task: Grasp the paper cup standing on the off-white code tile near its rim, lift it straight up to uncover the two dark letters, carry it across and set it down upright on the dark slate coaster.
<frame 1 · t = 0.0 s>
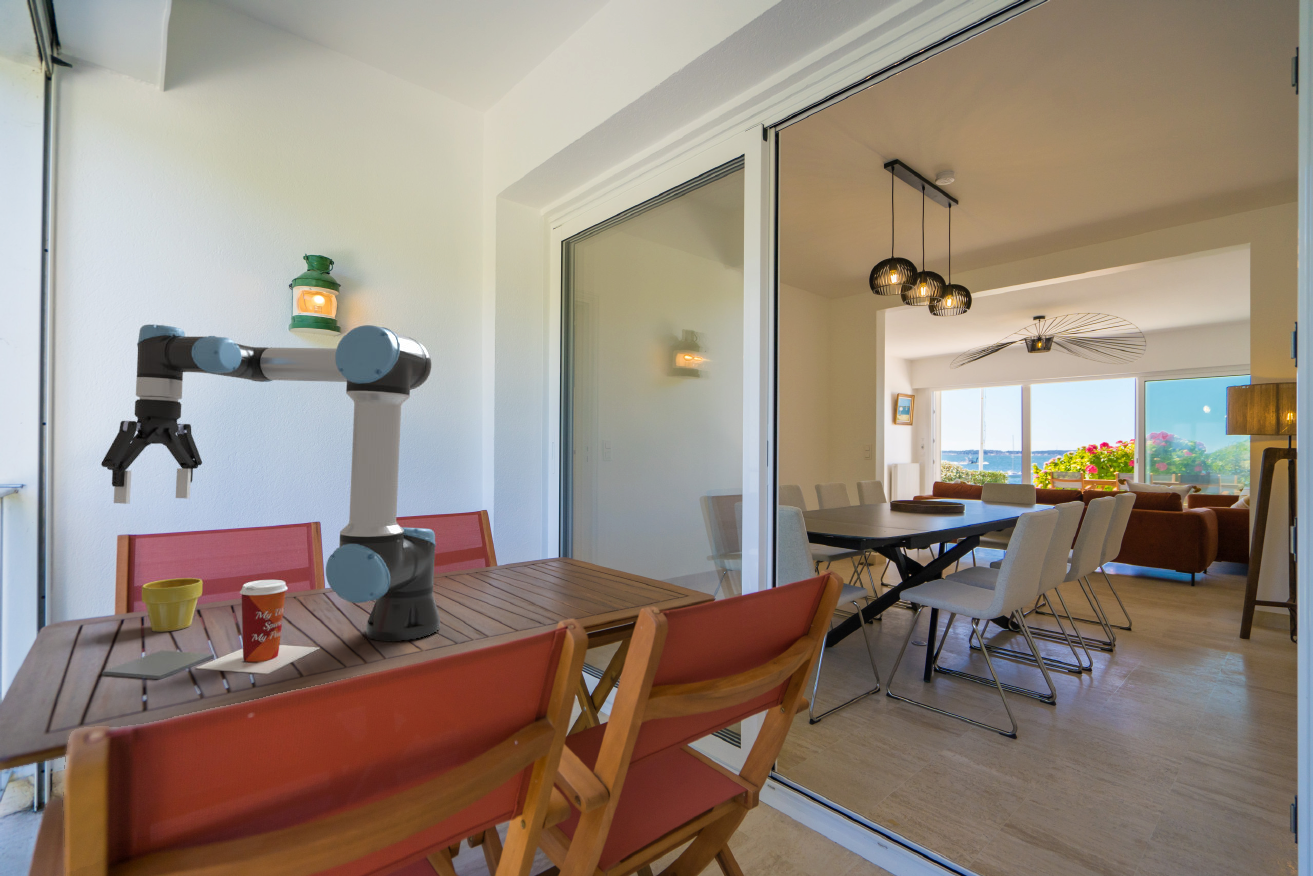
hand: (153, 500, 126), 28 cm above the table, fingers open, 13 cm apart
paper cup: (261, 658, 114), resting on code tile
code tile: (261, 658, 114), on the table
plant pot: (170, 628, 131), on the table
slate coaster: (160, 665, 109), on the table
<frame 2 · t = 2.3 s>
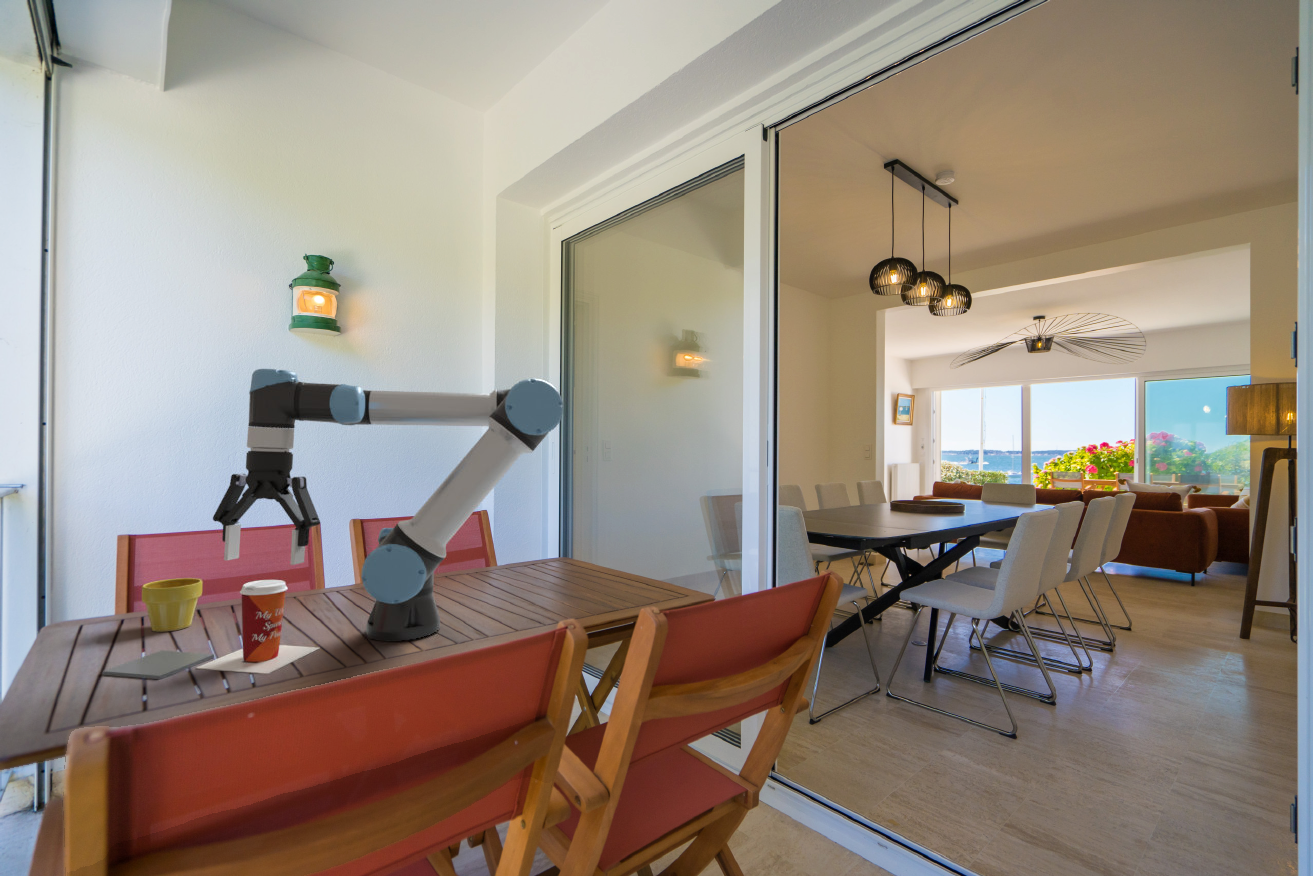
hand: (264, 561, 115), 18 cm above the table, fingers open, 13 cm apart
nothing on the table moved.
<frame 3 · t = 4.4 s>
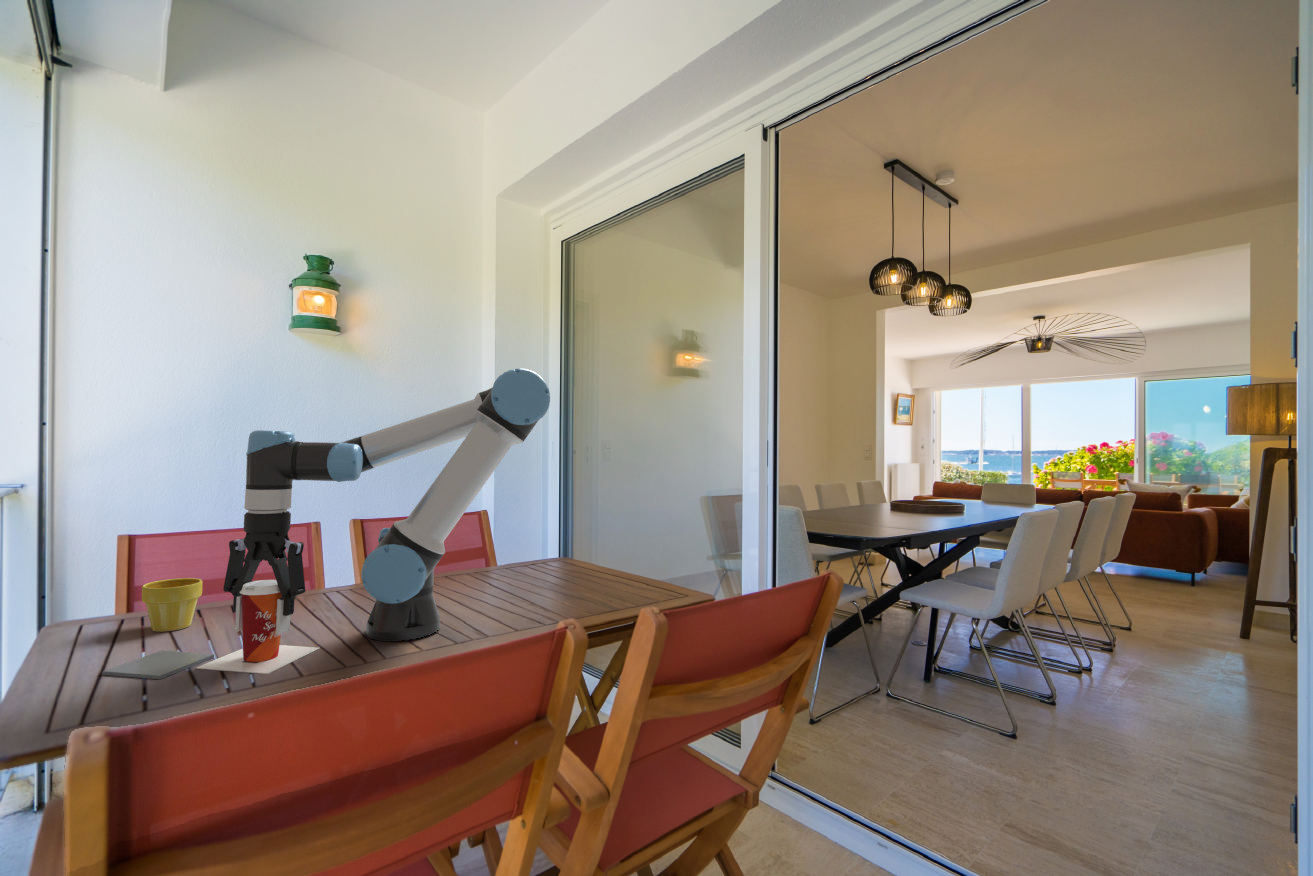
hand: (262, 630, 115), 5 cm above the table, fingers closed on paper cup, 8 cm apart
paper cup: (261, 658, 114), resting on code tile, touching gripper
everything else where it was.
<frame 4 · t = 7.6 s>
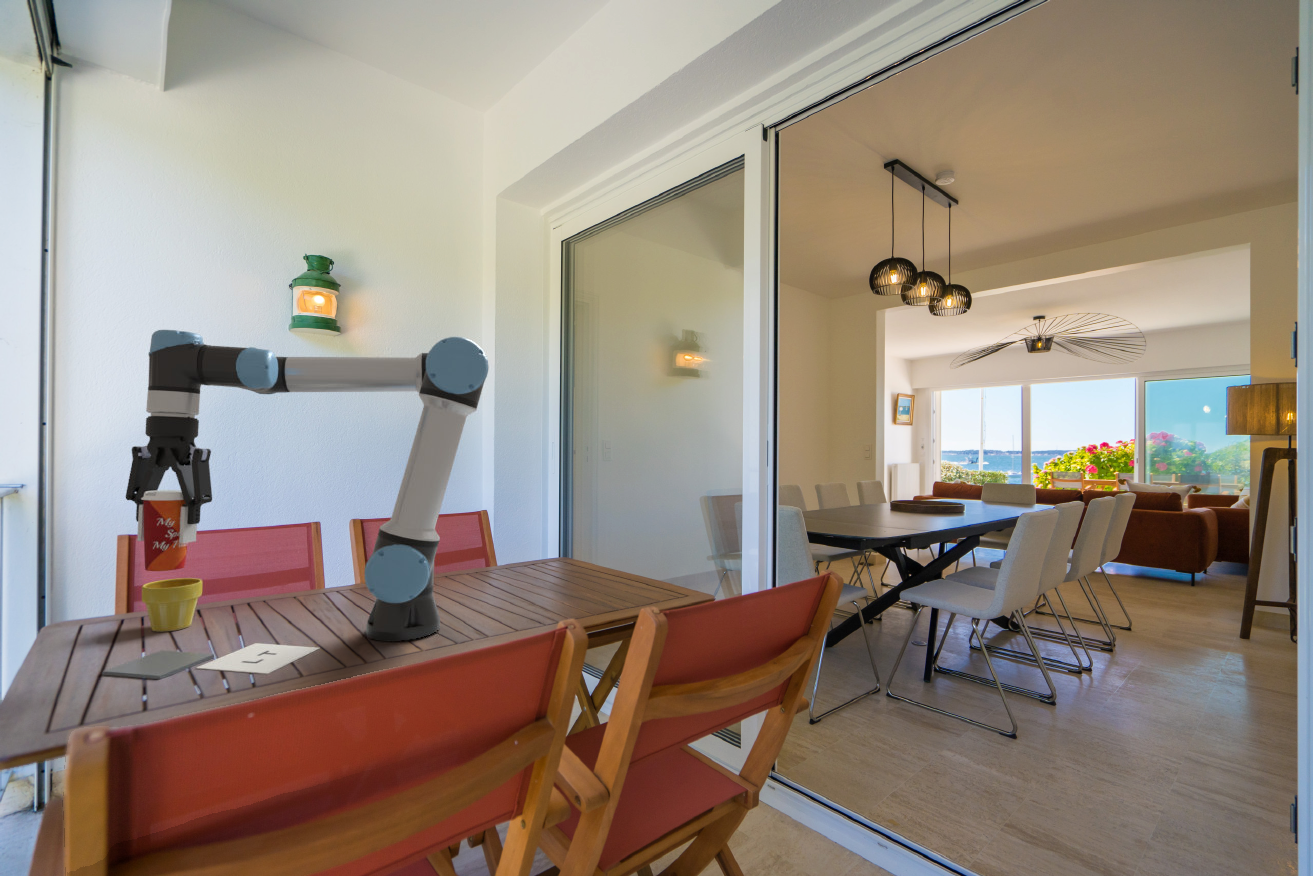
hand: (166, 540, 109), 23 cm above the table, fingers closed on paper cup, 8 cm apart
paper cup: (165, 569, 109), point 17 cm above the table, touching gripper
everything else where it was.
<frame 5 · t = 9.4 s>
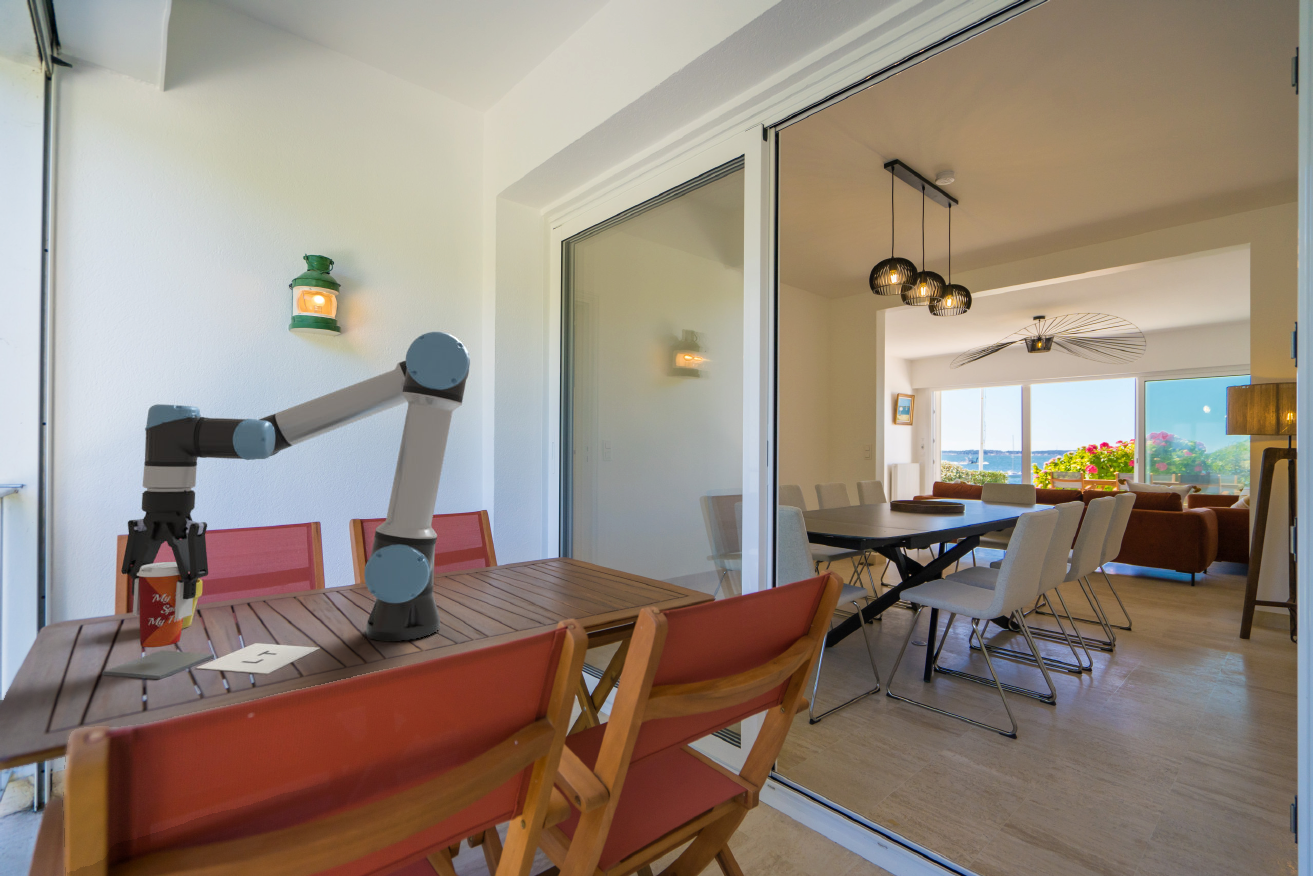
hand: (162, 615, 109), 9 cm above the table, fingers closed on paper cup, 8 cm apart
paper cup: (160, 643, 109), point 4 cm above the table, touching gripper
everything else where it was.
when the fingers open (7 cm above the table, at t = 10.7 s): paper cup drops 1 cm, resting on slate coaster.
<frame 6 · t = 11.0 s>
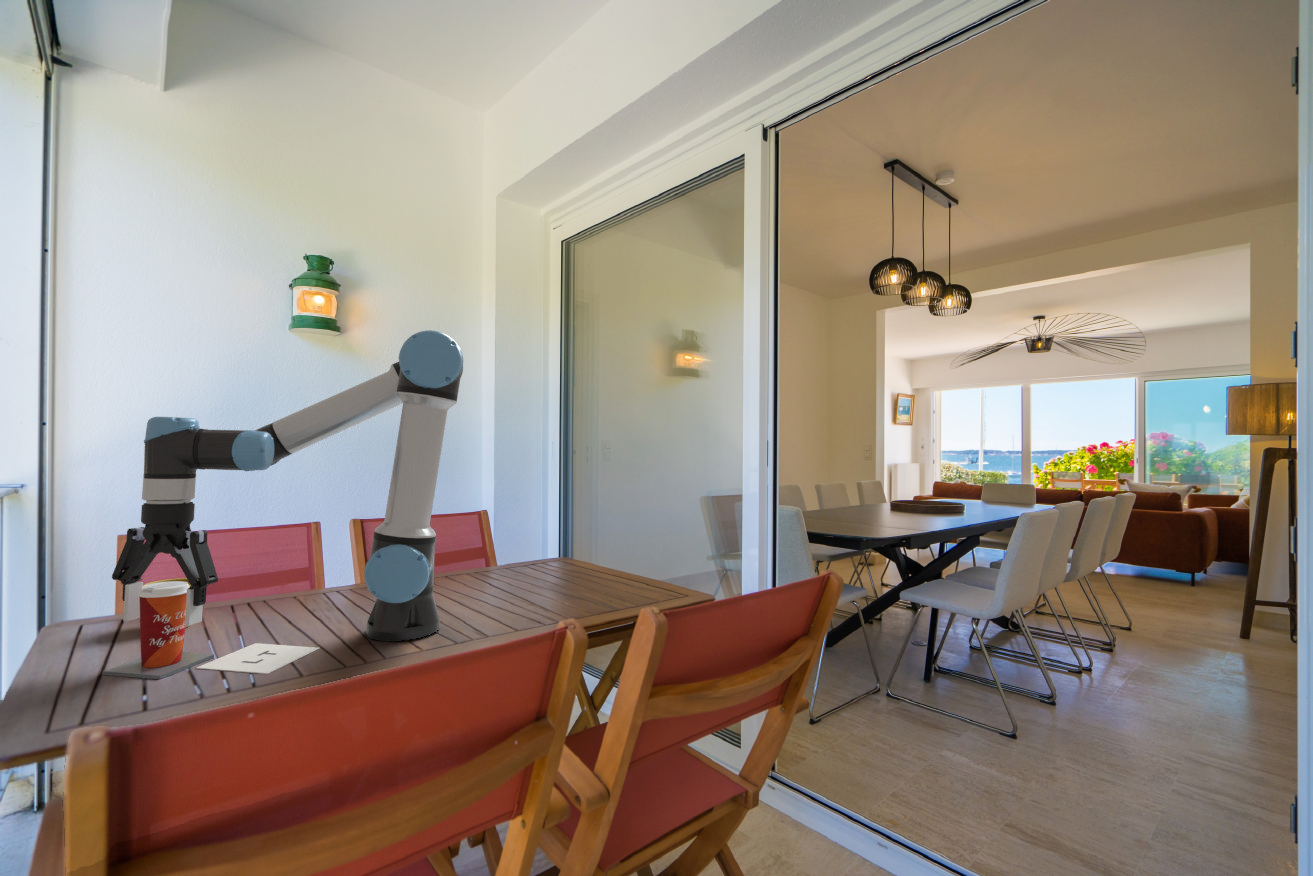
hand: (162, 621, 109), 8 cm above the table, fingers open, 11 cm apart
paper cup: (162, 663, 109), resting on slate coaster
everything else where it was.
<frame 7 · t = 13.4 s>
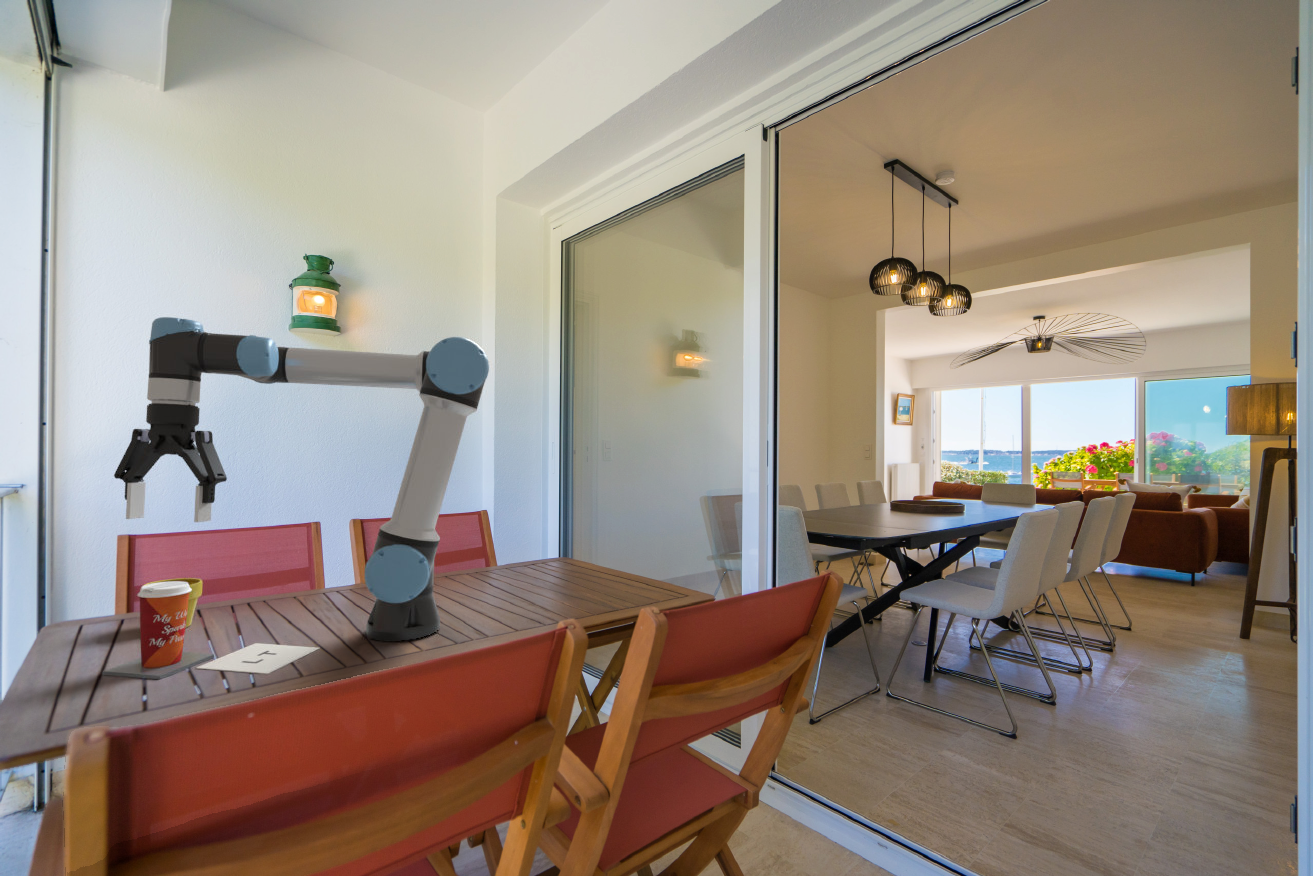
hand: (168, 520, 110), 26 cm above the table, fingers open, 13 cm apart
nothing on the table moved.
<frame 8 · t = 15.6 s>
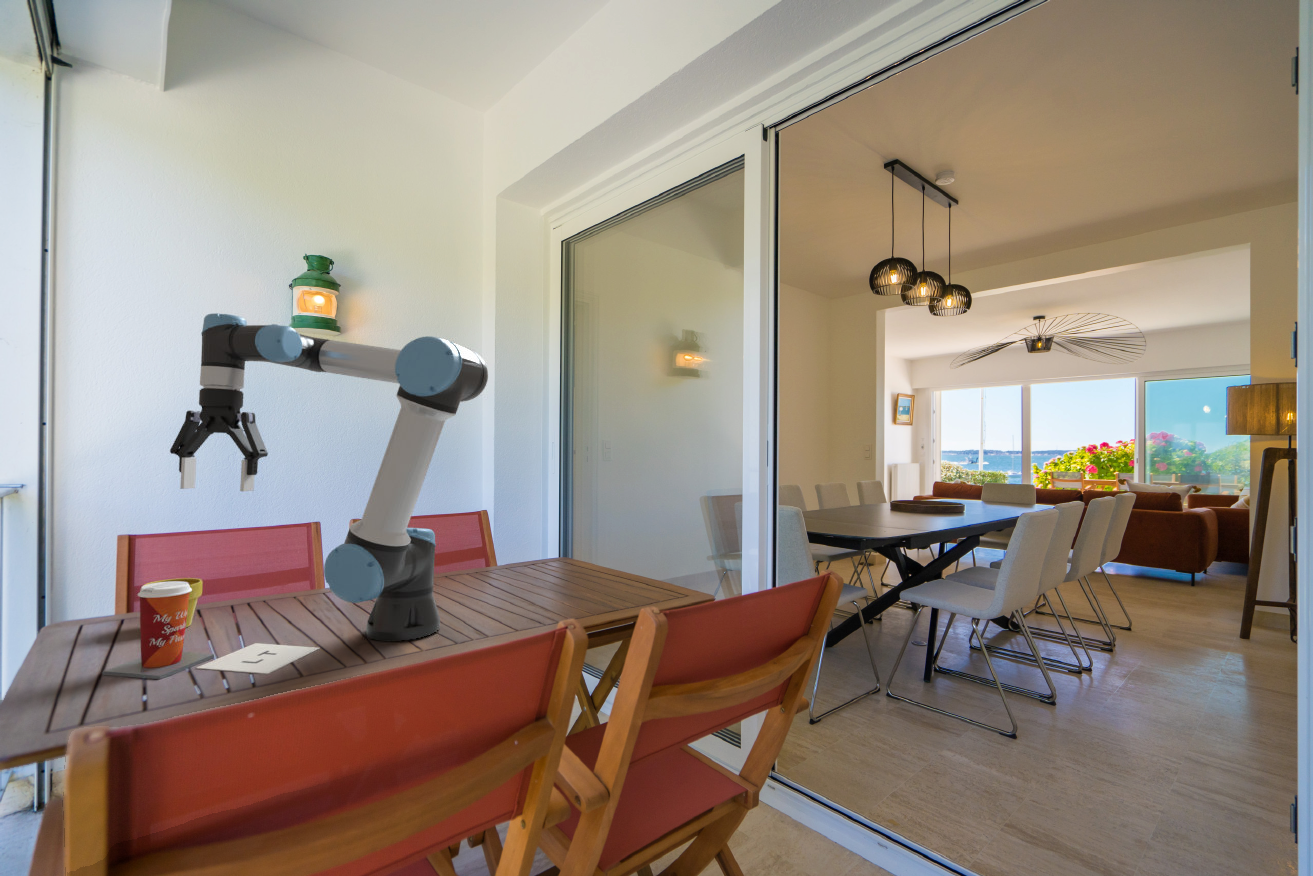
hand: (217, 489, 126), 31 cm above the table, fingers open, 13 cm apart
nothing on the table moved.
at the end: paper cup inside the target area on the slate coaster (0.2 cm from its centre), point 0.4 cm above the slate coaster's base; paper cup tilted 0°; paper cup touching slate coaster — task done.
